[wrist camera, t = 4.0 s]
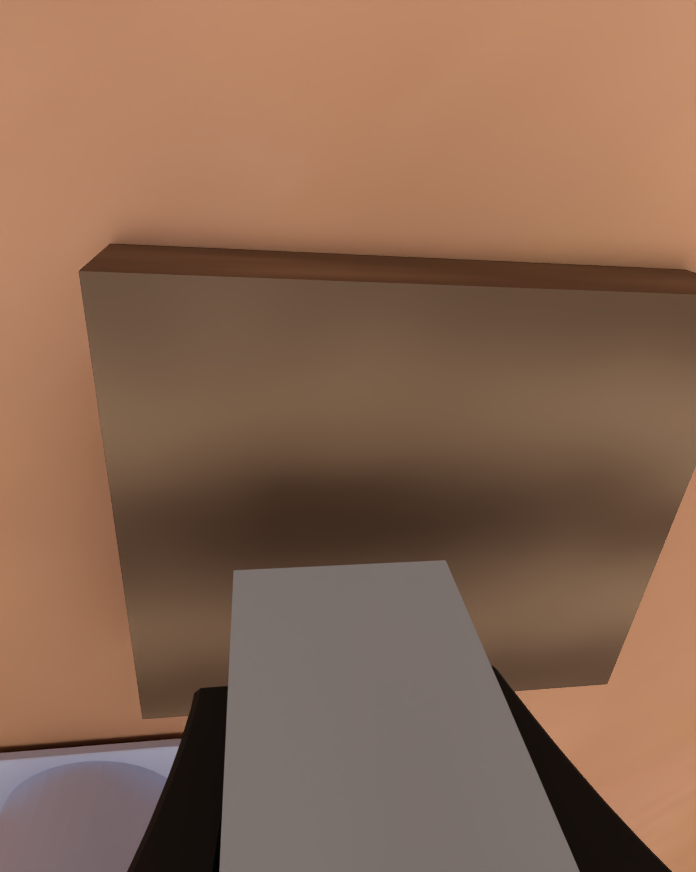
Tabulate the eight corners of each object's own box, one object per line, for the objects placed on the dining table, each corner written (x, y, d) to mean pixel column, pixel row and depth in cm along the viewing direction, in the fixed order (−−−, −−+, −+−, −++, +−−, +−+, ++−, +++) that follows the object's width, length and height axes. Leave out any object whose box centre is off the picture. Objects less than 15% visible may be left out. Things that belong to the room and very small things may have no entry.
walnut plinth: (568, 621, 24) (607, 684, 21) (156, 644, 21) (142, 719, 19) (686, 269, 17) (764, 297, 14) (109, 243, 15) (78, 270, 12)
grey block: (421, 699, 13) (531, 1084, 8) (239, 714, 13) (228, 1142, 7) (445, 559, 11) (610, 943, 6) (233, 570, 11) (212, 1006, 5)
